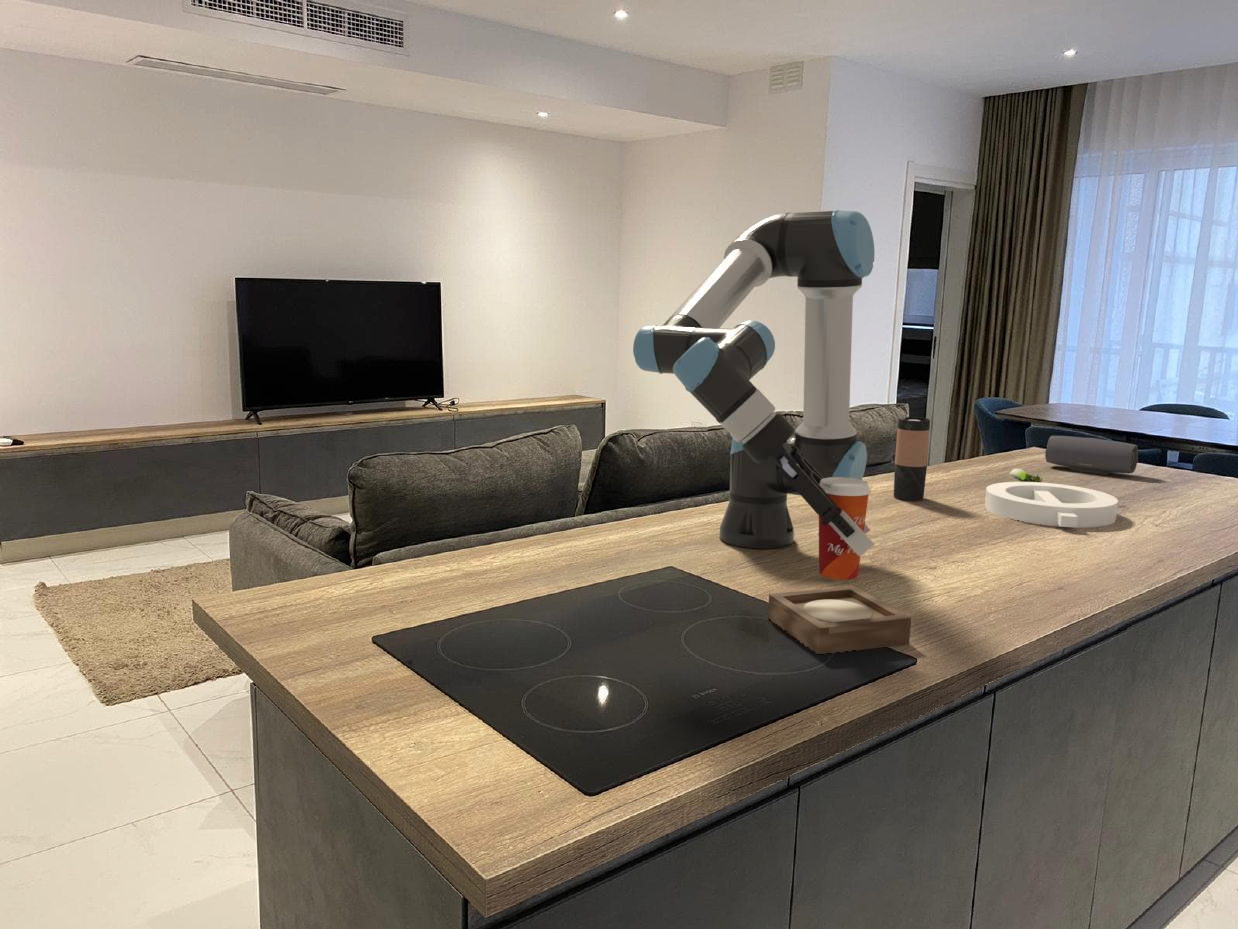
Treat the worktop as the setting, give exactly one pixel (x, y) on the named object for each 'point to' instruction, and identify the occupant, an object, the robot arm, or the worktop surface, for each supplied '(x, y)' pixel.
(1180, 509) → the worktop surface
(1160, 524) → the worktop surface
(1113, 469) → the bluetooth speaker
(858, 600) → the wooden coaster holder
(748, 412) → the robot arm
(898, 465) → the travel mug
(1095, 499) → the white circle with bar
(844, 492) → the paper cup
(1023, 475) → the leek
